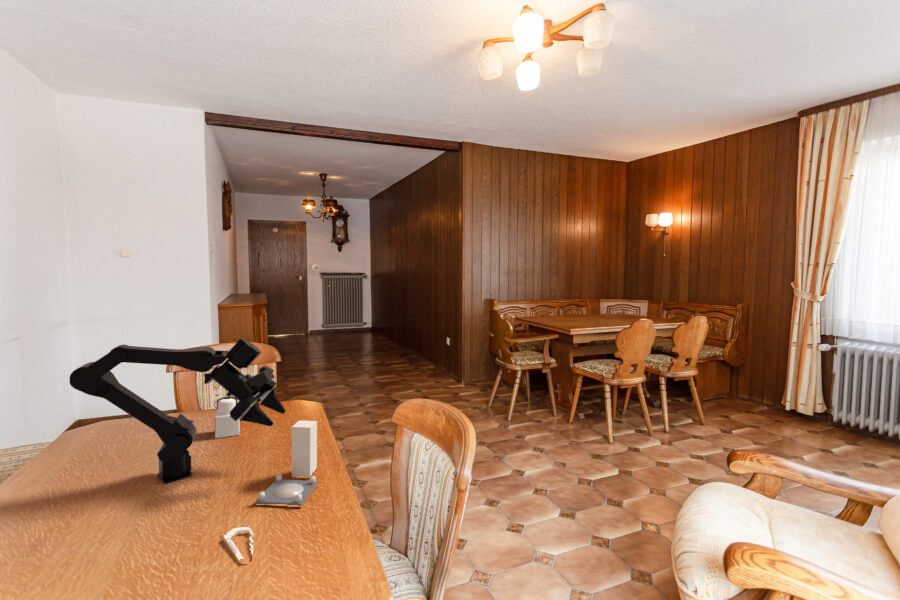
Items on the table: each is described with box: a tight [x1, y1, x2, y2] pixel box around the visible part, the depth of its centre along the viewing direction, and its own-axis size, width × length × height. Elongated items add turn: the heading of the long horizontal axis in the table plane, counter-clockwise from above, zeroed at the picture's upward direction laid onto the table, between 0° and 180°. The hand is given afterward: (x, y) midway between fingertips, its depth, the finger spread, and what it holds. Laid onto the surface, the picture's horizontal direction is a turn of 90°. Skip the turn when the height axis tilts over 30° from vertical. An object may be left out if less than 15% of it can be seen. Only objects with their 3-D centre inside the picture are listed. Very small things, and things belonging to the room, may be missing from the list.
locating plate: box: [255, 473, 319, 506], centre depth 110 cm, size 11×11×2 cm
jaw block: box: [291, 420, 318, 477], centre depth 120 cm, size 5×5×14 cm
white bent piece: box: [223, 526, 255, 560], centre depth 90 cm, size 13×5×2 cm, turn 44°
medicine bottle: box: [214, 396, 240, 439], centre depth 147 cm, size 7×7×12 cm
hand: (278, 418), depth 122 cm, fingers open, 9 cm apart
